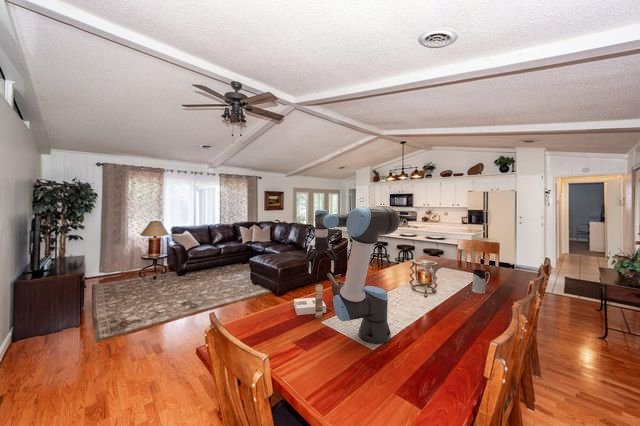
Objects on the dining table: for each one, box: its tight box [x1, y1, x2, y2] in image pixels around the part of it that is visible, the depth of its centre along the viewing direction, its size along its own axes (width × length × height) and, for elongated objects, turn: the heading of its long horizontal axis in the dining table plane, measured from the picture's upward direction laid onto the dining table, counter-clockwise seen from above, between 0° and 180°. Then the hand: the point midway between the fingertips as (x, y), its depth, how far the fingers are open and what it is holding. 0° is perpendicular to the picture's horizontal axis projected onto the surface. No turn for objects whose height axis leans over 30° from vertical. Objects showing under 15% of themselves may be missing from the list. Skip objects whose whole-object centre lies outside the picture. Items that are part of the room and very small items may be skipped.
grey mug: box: [471, 269, 491, 294], centre depth 193 cm, size 9×14×15 cm, turn 107°
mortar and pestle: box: [326, 272, 345, 297], centre depth 166 cm, size 12×9×20 cm
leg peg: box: [314, 284, 324, 320], centre depth 147 cm, size 4×4×18 cm
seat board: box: [293, 297, 327, 316], centre depth 159 cm, size 14×17×4 cm
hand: (321, 272), depth 155 cm, fingers open, 13 cm apart
